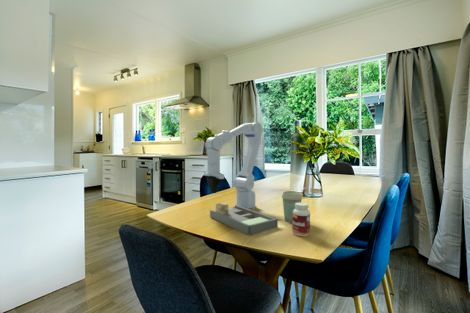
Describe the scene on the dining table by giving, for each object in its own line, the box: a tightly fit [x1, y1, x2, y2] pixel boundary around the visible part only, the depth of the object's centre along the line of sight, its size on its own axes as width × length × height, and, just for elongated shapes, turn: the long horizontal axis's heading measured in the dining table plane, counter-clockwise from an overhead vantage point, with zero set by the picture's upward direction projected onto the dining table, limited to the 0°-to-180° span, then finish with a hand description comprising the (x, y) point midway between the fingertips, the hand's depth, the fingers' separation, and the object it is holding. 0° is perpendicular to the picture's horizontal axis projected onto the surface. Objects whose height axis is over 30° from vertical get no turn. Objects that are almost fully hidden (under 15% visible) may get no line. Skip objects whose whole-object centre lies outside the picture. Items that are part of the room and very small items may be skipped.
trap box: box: [209, 204, 279, 236], centre depth 103 cm, size 15×27×3 cm, turn 37°
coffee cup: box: [281, 190, 303, 224], centre depth 104 cm, size 8×8×12 cm
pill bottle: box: [291, 201, 311, 237], centre depth 89 cm, size 6×6×11 cm
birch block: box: [215, 202, 229, 215], centre depth 108 cm, size 4×4×4 cm
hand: (213, 192), depth 114 cm, fingers closed
